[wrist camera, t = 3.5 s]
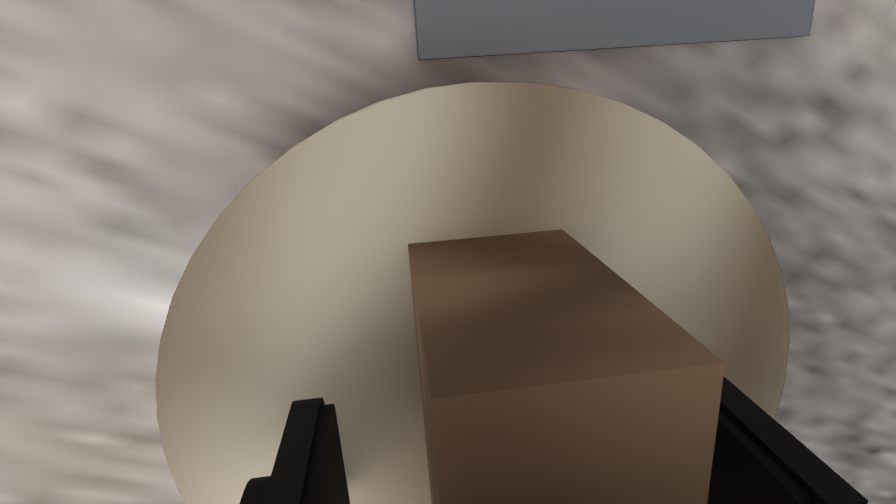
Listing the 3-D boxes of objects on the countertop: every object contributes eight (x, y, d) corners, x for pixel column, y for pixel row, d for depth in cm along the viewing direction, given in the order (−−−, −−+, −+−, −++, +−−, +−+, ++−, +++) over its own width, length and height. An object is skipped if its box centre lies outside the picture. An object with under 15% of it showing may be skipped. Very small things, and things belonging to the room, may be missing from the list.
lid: (792, 60, 11) (1292, 34, 5) (720, 554, 15) (934, 856, 9) (102, 106, 9) (-365, 147, 4) (243, 631, 14) (140, 1037, 8)
